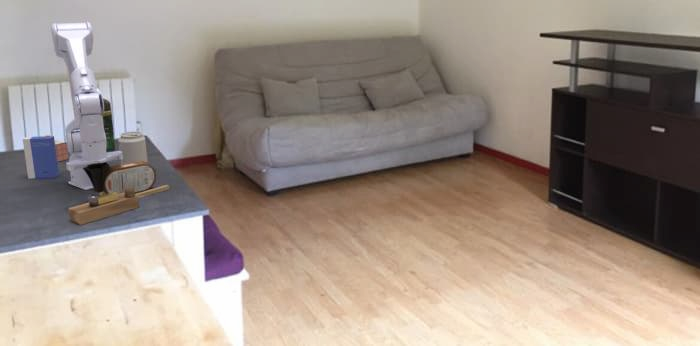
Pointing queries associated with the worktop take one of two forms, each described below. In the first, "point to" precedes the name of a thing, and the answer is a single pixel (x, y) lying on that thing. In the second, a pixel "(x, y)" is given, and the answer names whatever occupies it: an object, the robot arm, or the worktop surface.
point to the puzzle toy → (61, 150)
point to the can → (132, 147)
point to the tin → (129, 177)
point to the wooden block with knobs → (104, 208)
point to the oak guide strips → (148, 191)
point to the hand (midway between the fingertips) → (98, 191)
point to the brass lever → (102, 198)
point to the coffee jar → (108, 126)
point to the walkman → (41, 157)
